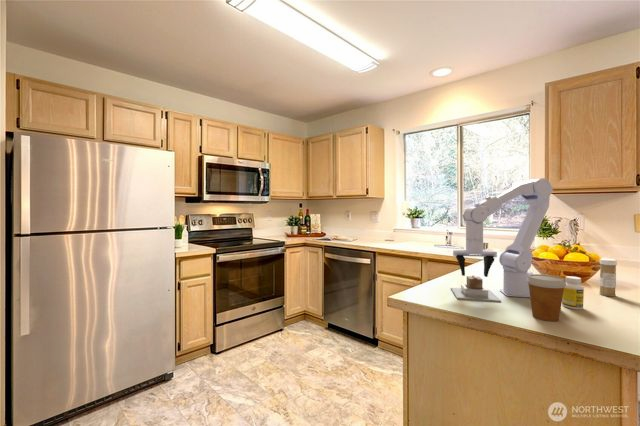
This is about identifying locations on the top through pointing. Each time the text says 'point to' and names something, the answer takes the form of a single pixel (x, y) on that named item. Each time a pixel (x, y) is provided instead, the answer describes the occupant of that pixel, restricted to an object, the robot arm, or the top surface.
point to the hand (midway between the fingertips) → (474, 275)
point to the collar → (474, 291)
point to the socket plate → (461, 296)
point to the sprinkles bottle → (607, 277)
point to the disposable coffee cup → (546, 296)
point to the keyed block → (474, 282)
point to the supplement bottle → (573, 293)
